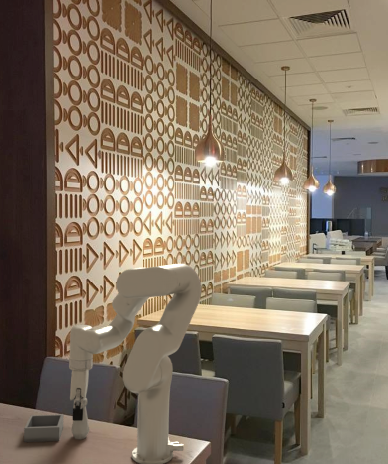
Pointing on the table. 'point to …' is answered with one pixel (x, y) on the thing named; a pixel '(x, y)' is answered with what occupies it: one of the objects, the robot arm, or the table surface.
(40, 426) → the tray
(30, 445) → the table surface
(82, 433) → the salt shaker
